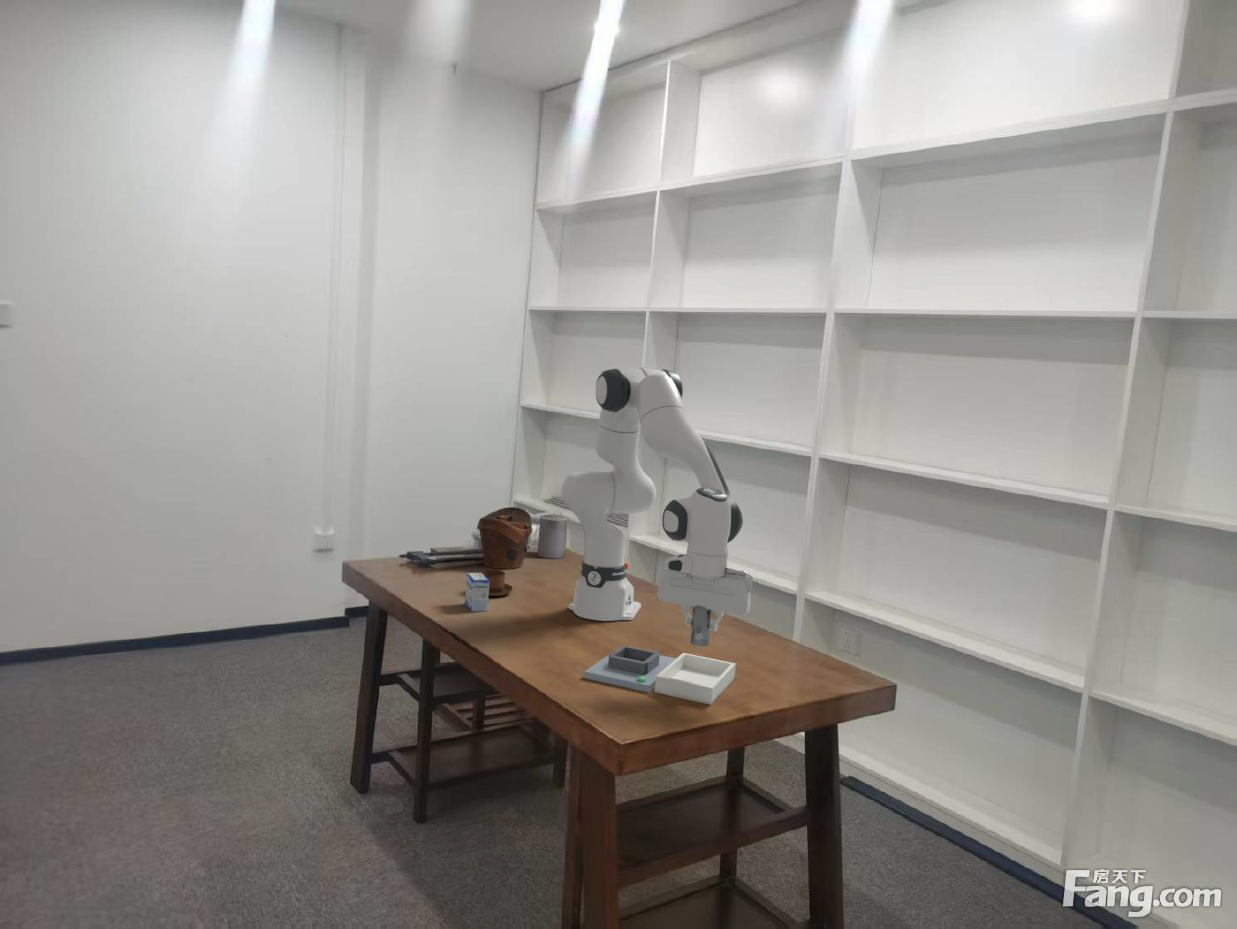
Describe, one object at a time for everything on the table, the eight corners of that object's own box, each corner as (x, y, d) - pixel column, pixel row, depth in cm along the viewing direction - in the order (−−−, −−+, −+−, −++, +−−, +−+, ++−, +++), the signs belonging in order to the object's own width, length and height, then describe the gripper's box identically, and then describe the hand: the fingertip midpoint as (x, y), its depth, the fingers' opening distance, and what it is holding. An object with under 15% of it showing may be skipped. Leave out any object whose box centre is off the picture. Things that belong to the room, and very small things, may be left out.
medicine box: (464, 603, 241) (466, 572, 240) (480, 603, 243) (482, 572, 242) (471, 612, 234) (473, 580, 233) (487, 611, 236) (489, 579, 235)
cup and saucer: (466, 588, 257) (467, 568, 256) (506, 587, 261) (507, 567, 261) (475, 600, 246) (476, 578, 245) (516, 598, 250) (518, 577, 250)
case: (482, 573, 276) (485, 516, 274) (469, 558, 295) (472, 505, 293) (537, 572, 283) (541, 516, 281) (521, 557, 301) (524, 505, 299)
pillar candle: (549, 551, 314) (552, 510, 313) (570, 556, 309) (573, 514, 307) (531, 555, 306) (534, 512, 305) (553, 560, 301) (556, 517, 299)
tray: (681, 667, 203) (683, 652, 202) (734, 678, 198) (735, 663, 198) (654, 692, 186) (656, 676, 186) (711, 704, 181) (712, 688, 181)
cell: (693, 639, 193) (697, 597, 192) (711, 642, 192) (714, 600, 191) (687, 644, 190) (691, 601, 189) (705, 647, 188) (709, 604, 187)
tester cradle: (619, 653, 210) (620, 636, 209) (679, 665, 204) (680, 648, 203) (583, 678, 191) (585, 660, 191) (648, 692, 186) (650, 674, 185)
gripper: (757, 569, 188) (751, 632, 189) (666, 555, 196) (662, 616, 197) (750, 575, 182) (744, 640, 184) (657, 560, 190) (652, 623, 191)
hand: (700, 627), depth 190 cm, fingers closed on cell, 4 cm apart
